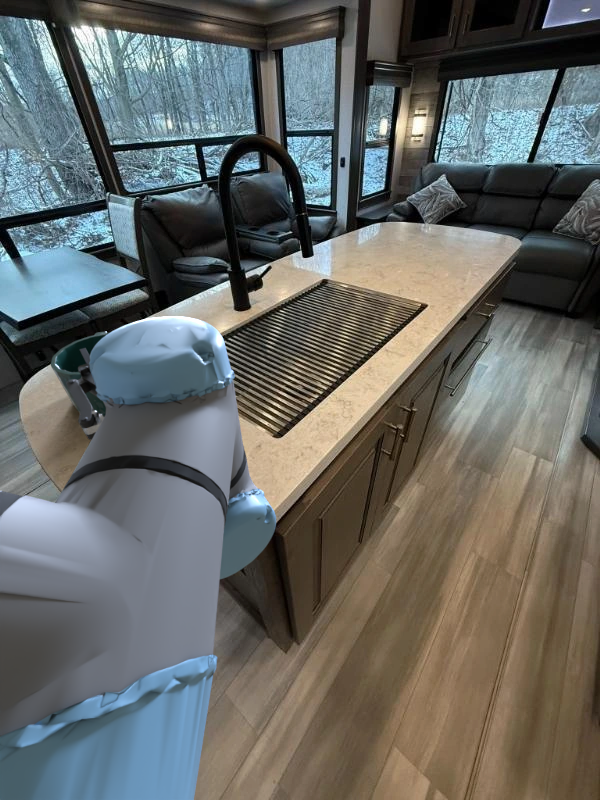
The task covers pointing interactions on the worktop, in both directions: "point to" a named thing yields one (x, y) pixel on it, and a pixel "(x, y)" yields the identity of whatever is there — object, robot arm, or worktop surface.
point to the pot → (69, 362)
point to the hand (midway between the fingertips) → (110, 350)
